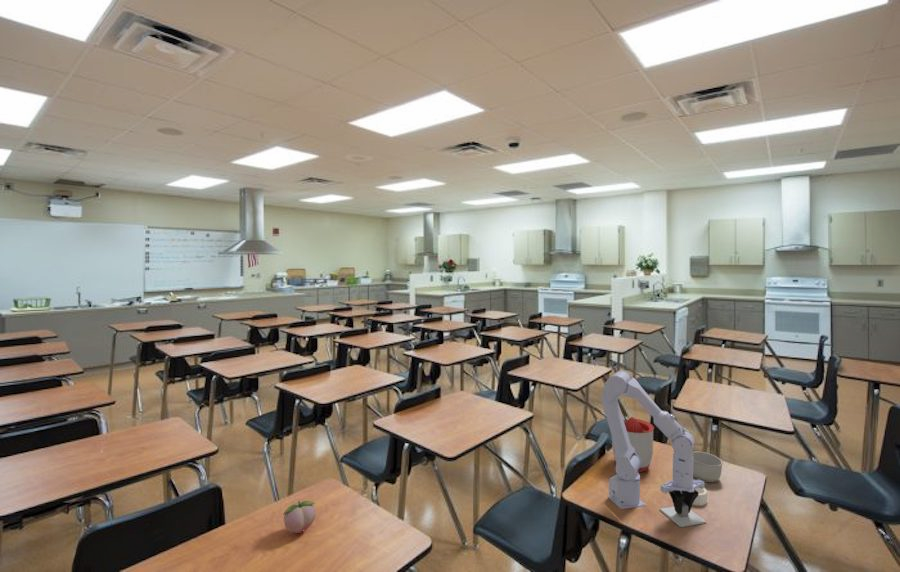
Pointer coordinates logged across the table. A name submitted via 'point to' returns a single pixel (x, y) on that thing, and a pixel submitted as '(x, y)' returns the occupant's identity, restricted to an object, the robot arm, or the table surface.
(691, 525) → the mat
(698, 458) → the teacup
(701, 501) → the bowl
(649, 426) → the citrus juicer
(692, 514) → the lid
